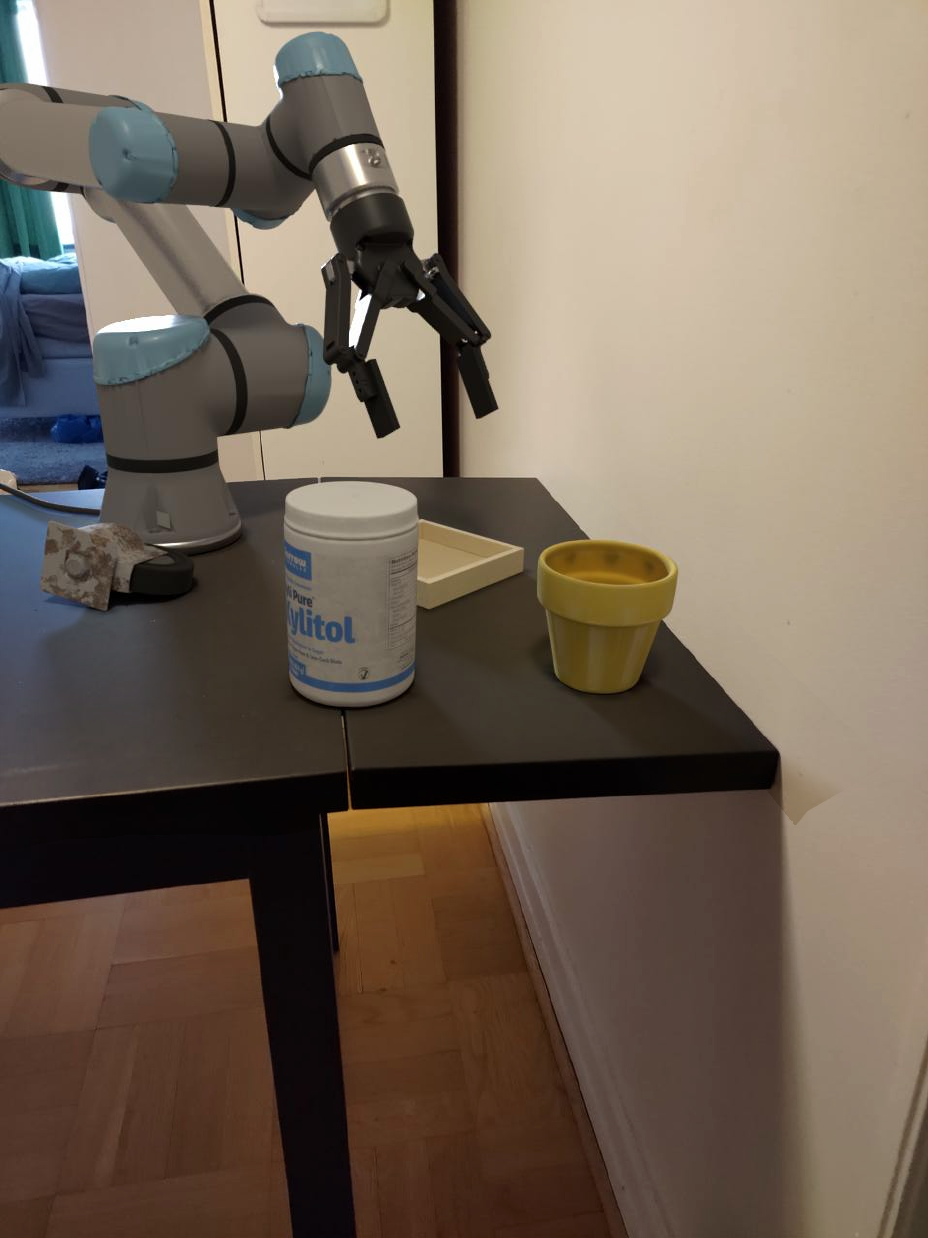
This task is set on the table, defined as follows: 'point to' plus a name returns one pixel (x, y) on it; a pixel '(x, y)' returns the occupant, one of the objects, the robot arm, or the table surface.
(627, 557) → the flower pot
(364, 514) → the supplement tub
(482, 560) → the shallow tray
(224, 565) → the table surface
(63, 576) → the caster wheel
